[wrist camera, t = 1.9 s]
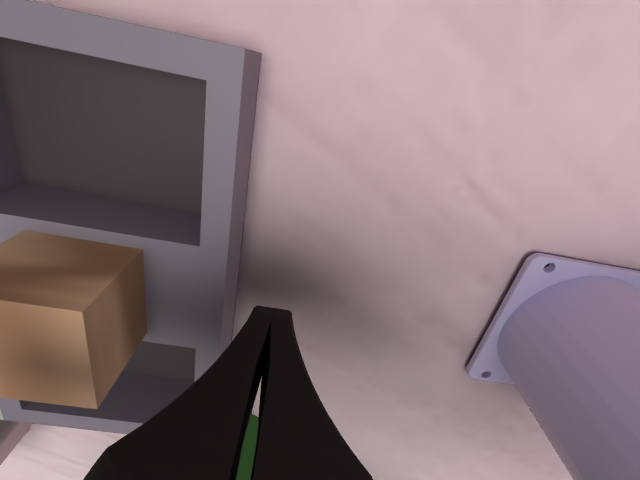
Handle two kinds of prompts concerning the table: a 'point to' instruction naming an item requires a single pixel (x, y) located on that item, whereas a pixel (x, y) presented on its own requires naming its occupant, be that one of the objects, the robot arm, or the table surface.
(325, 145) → the table surface
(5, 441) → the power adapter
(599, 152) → the table surface
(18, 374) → the maple block
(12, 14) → the box
